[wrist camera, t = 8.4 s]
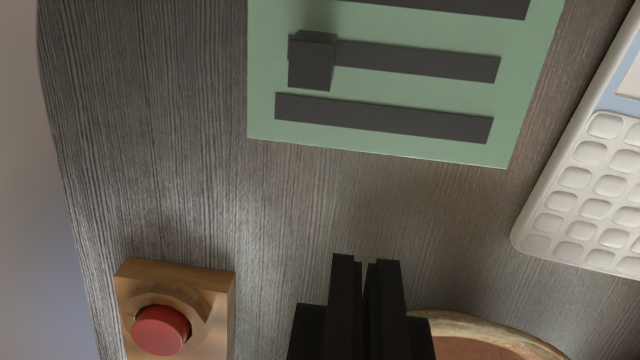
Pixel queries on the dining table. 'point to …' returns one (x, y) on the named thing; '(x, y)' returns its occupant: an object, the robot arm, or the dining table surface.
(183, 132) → the dining table surface
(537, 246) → the calculator
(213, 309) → the block
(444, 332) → the bowl
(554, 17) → the toaster
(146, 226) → the dining table surface
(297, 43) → the slider
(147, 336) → the button
